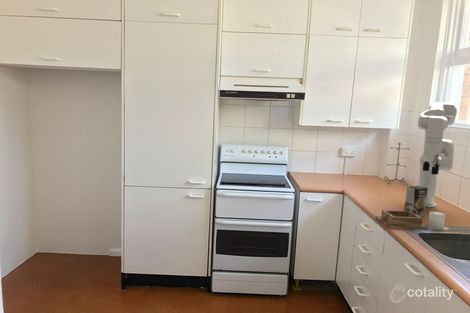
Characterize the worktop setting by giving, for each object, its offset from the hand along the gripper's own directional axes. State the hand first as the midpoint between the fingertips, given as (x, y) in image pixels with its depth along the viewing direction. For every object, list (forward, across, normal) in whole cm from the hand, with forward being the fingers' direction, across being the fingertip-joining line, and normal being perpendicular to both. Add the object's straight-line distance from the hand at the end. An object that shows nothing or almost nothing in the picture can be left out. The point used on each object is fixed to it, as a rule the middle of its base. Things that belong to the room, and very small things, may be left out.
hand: (430, 172), depth 186 cm
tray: (+25, +12, -17) cm, 33 cm away
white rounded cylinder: (+25, +14, -1) cm, 29 cm away
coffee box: (+26, -3, -4) cm, 26 cm away
